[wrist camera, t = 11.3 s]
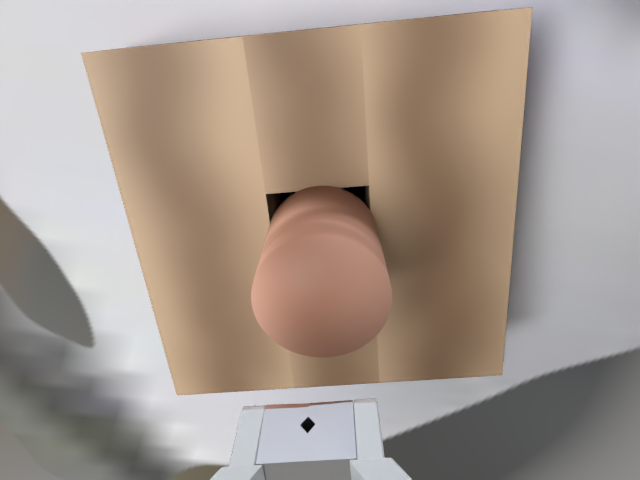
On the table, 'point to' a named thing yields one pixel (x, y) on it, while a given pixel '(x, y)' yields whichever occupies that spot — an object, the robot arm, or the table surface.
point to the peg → (322, 275)
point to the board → (323, 170)
